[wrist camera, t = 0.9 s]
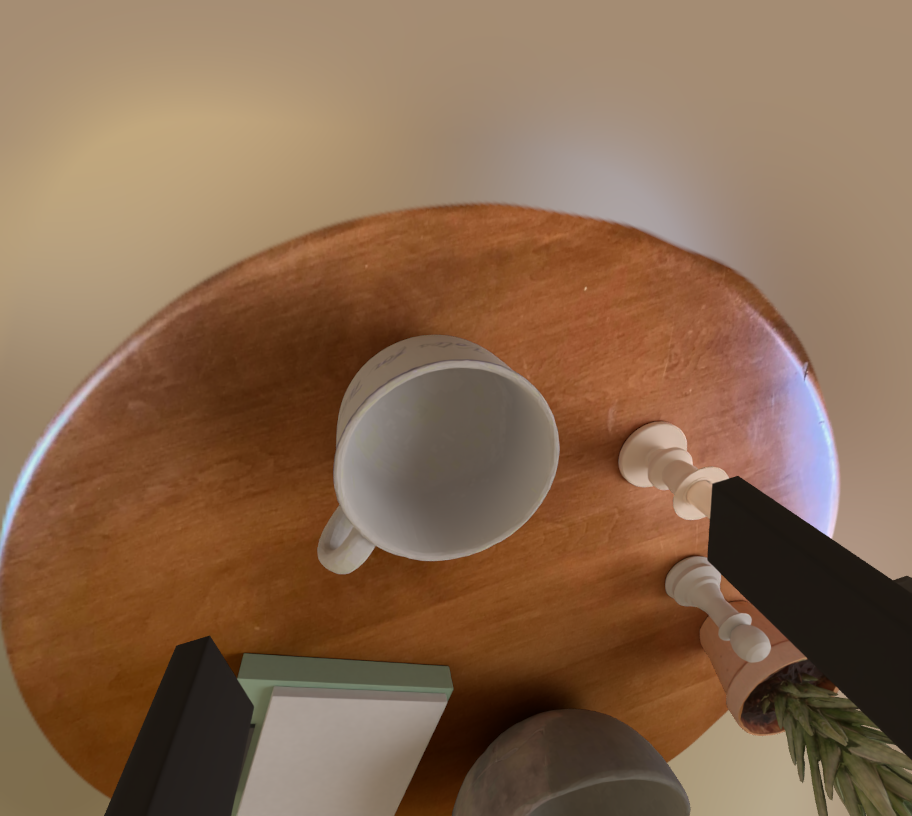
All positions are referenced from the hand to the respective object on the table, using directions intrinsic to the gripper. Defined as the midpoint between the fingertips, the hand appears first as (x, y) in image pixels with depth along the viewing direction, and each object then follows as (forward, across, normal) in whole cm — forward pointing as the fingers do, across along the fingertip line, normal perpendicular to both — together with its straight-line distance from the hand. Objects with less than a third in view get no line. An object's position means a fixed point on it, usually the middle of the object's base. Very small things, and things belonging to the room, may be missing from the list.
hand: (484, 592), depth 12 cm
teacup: (+17, -1, -2) cm, 17 cm away
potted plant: (+17, +23, -32) cm, 43 cm away
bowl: (+17, +3, -39) cm, 42 cm away
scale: (+17, -14, -28) cm, 36 cm away
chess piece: (+17, +19, -24) cm, 35 cm away
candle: (+17, +16, -10) cm, 25 cm away
